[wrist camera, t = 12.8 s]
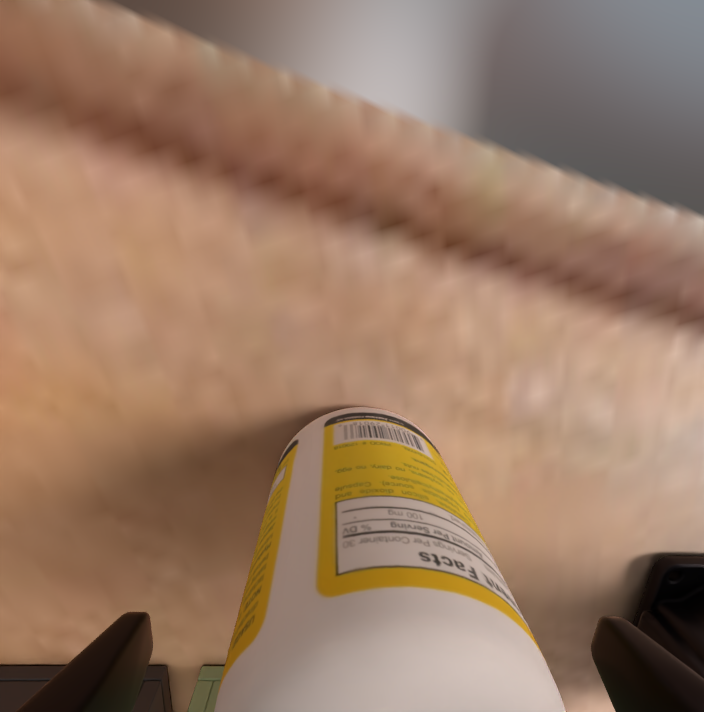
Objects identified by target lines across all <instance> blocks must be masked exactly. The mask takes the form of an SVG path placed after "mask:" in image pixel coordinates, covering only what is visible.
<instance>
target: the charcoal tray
mask: <svg viewBox="0 0 704 712" xmlns="http://www.w3.org/2000/svg"><path fill="white" fill-rule="evenodd" d="M64 667H65V666H0V712H16V711H17V710H18V709H19V708H20V707H21V706H22V705H23V704H24V703H25V702H27V701H28V700H29V699H30V698H31V697H32V696H33V695H34V694H35V693H37V692H38V691H39V690H40V689H41V688H42V687H43V686H44V685H45V684H47V683H48V682H49V681H50V680H51V679H52V678H53V677H54V676H55V675H56V674H58V673H59V672H60V671H61V670H62V669H63V668H64ZM132 712H172V708H171V700H170V691H169V683H168V674H167V667H166V666H148V667H147V670H146V673H145V676H144V679H143V682H142V685H141V687H140V690H139V693H138V696H137V699H136V702H135V705H134V708H133V711H132Z"/></svg>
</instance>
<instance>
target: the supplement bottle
mask: <svg viewBox="0 0 704 712" xmlns="http://www.w3.org/2000/svg"><path fill="white" fill-rule="evenodd" d="M214 712H566V710H565V707H564V704H563V701H562V698H561V695H560V692H559V690H558V688H557V686H556V684H555V681H554V679H553V677H552V675H551V672H550V670H549V668H548V665H547V663H546V661H545V659H544V657H543V654H542V652H541V650H540V648H539V646H538V644H537V642H536V640H535V639H534V637H533V635H532V632H531V630H530V628H529V626H528V624H527V622H526V621H525V619H524V617H523V615H522V613H521V611H520V609H519V607H518V605H517V603H516V601H515V600H514V598H513V596H512V594H511V592H510V590H509V588H508V586H507V584H506V582H505V580H504V578H503V576H502V574H501V572H500V570H499V568H498V566H497V564H496V562H495V560H494V559H493V557H492V555H491V553H490V551H489V549H488V547H487V545H486V543H485V541H484V539H483V537H482V535H481V533H480V531H479V529H478V527H477V525H476V523H475V521H474V519H473V517H472V516H471V514H470V512H469V510H468V508H467V506H466V504H465V502H464V500H463V498H462V496H461V494H460V492H459V490H458V488H457V486H456V484H455V482H454V481H453V479H452V477H451V475H450V473H449V471H448V469H447V467H446V465H445V463H444V461H443V459H442V457H441V455H440V454H439V452H438V450H437V449H436V447H435V446H434V444H433V443H432V441H431V440H430V439H429V438H428V437H427V435H426V434H425V433H424V432H423V431H422V430H421V429H420V428H419V427H418V426H417V425H415V424H414V423H412V422H411V421H410V420H408V419H406V418H404V417H402V416H400V415H398V414H396V413H393V412H391V411H387V410H383V409H378V408H370V407H351V408H346V409H341V410H337V411H334V412H331V413H328V414H326V415H323V416H321V417H319V418H317V419H315V420H314V421H312V422H311V423H309V424H308V425H306V426H305V427H304V428H303V429H301V430H300V431H299V432H298V433H297V434H296V435H295V436H294V437H293V439H292V440H291V441H290V442H289V444H288V445H287V447H286V448H285V450H284V452H283V454H282V456H281V458H280V461H279V463H278V466H277V469H276V472H275V475H274V479H273V483H272V486H271V491H270V495H269V498H268V502H267V506H266V510H265V514H264V518H263V521H262V525H261V529H260V533H259V537H258V541H257V545H256V548H255V552H254V556H253V560H252V564H251V567H250V571H249V575H248V579H247V583H246V586H245V590H244V594H243V598H242V602H241V606H240V610H239V614H238V618H237V621H236V625H235V629H234V633H233V636H232V640H231V644H230V647H229V650H228V655H227V660H226V663H225V667H224V671H223V675H222V679H221V683H220V687H219V691H218V696H217V701H216V705H215V710H214Z"/></svg>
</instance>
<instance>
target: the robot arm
mask: <svg viewBox="0 0 704 712" xmlns="http://www.w3.org/2000/svg"><path fill="white" fill-rule="evenodd" d="M152 650H153V638H152V631H151V623H150V616H149V614H148V613H146V612H127V613H125V614H123V615H122V616H121V617H120V618H118V619H117V620H116V621H115V622H114V623H113V624H112V625H111V626H110V627H109V628H107V629H106V630H105V631H104V632H103V633H102V634H101V635H100V636H99V637H97V638H96V639H95V640H94V641H93V642H92V643H91V644H90V645H89V646H87V647H86V648H85V649H84V650H83V651H82V652H81V653H80V654H79V655H78V656H76V657H75V658H74V659H73V660H72V661H71V662H70V663H69V664H68V665H66V666H65V667H64V668H63V669H62V670H61V671H60V672H59V673H58V674H56V675H55V676H54V677H53V678H52V679H51V680H50V681H49V682H48V683H47V684H45V685H44V686H43V687H42V688H41V689H40V690H39V691H38V692H37V693H35V694H34V695H33V696H32V697H31V698H30V699H29V700H28V701H27V702H25V703H24V704H23V705H22V706H21V707H20V708H19V709H18V710H17V711H16V712H132V711H133V708H134V705H135V702H136V699H137V696H138V693H139V690H140V687H141V685H142V682H143V679H144V676H145V673H146V670H147V667H148V664H149V661H150V658H151V654H152ZM591 652H592V657H593V660H594V662H595V665H596V667H597V669H598V672H599V674H600V676H601V679H602V681H603V683H604V686H605V688H606V690H607V693H608V695H609V697H610V700H611V702H612V704H613V706H614V709H615V711H616V712H704V557H702V556H667V557H663V558H661V559H659V560H658V561H657V562H656V563H655V564H654V566H653V568H652V571H651V574H650V577H649V580H648V583H647V586H646V589H645V592H644V594H643V597H642V600H641V603H640V606H639V609H638V612H637V615H636V618H635V621H634V624H631V623H630V622H629V621H627V620H626V619H624V618H622V617H601V618H600V619H599V621H598V624H597V627H596V631H595V634H594V637H593V640H592V644H591Z"/></svg>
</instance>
